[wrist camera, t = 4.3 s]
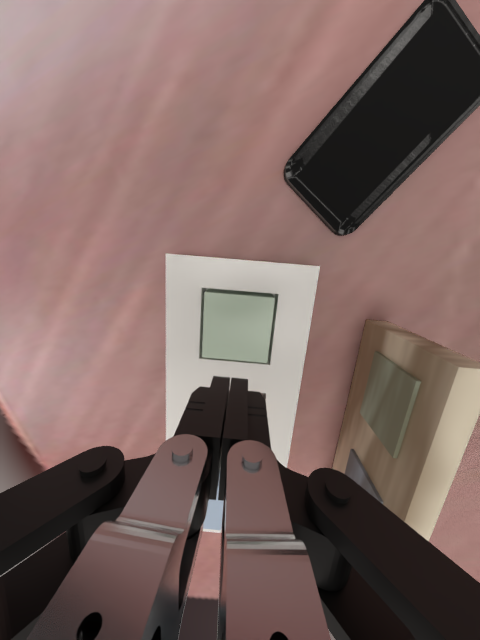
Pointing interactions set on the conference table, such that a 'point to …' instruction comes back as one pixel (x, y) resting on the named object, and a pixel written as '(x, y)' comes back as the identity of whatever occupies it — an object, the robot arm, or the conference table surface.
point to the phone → (390, 117)
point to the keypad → (267, 378)
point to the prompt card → (407, 421)
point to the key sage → (237, 325)
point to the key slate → (214, 513)
